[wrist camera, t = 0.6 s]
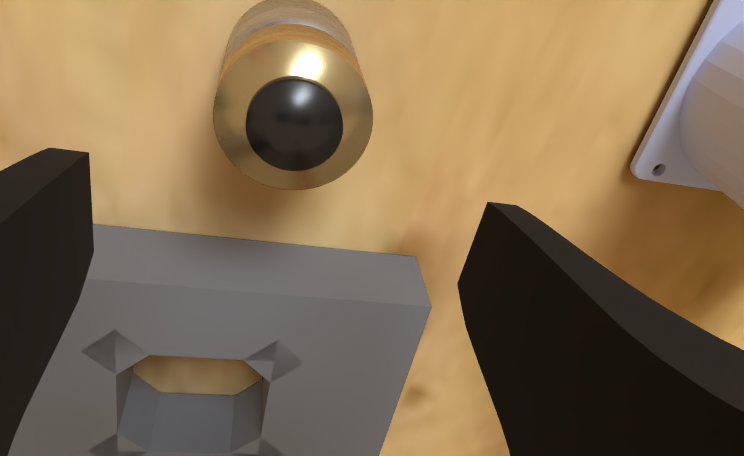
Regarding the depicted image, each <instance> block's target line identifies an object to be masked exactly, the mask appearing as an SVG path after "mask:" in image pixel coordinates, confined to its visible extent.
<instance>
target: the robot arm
mask: <svg viewBox="0 0 744 456" xmlns="http://www.w3.org/2000/svg"><path fill="white" fill-rule="evenodd" d="M659 164H660V166H659V168H658V169H657V170H655V171H653V169H654V167H655V166H657V165H659ZM630 171H631V172H632V173H633V175H634V176H635V177H636V178H638V179H641V180H648V181H655V182H662V183H668V184H675V185H682V186H689V187H696V188H703V189H710V190H717V191H722V192H723V193H724V194H725V195H727V196H728V197H729V198H730V199H731V200H733V201H734V202H735V203H736V204H737V205H739V206H740V207H741V208H742V209H744V0H714V1H713V3H712V5H711V7H710V9H709V11H708V13H707V15H706V17H705V19H704V20H703V22H702V24H701V26H700V28H699V30H698V32H697V34H696V36H695V38H694V40H693V42H692V44H691V46H690V48H689V50H688V52H687V54H686V56H685V58H684V60H683V62H682V64H681V66H680V68H679V70H678V72H677V74H676V76H675V78H674V80H673V82H672V83H671V85H670V87H669V89H668V91H667V93H666V95H665V97H664V99H663V101H662V103H661V105H660V107H659V109H658V111H657V113H656V115H655V117H654V119H653V121H652V123H651V125H650V127H649V129H648V131H647V133H646V135H645V137H644V139H643V141H642V143H641V144H640V146H639V148H638V150H637V152H636V154H635V156H634V158H633V160H632V162H631V165H630ZM93 253H94V240H93V221H92V202H91V183H90V164H89V153H88V152H80V151H72V150H64V149H56V148H47V149H45V150H42V151H40V152H38V153H36V154H33V155H31V156H29V157H27V158H25V159H23V160H21V161H19V162H17V163H15V164H13V165H11V166H9V167H7V168H5V169H4V170H2V171H0V456H8V453H9V450H10V448H11V445H12V442H13V439H14V436H15V434H16V431H17V429H18V427H19V424H20V422H21V420H22V417H23V415H24V413H25V410H26V408H27V406H28V404H29V402H30V400H31V398H32V396H33V394H34V392H35V390H36V388H37V386H38V384H39V382H40V379H41V377H42V375H43V373H44V371H45V369H46V367H47V365H48V363H49V361H50V359H51V357H52V355H53V353H54V351H55V349H56V347H57V345H58V343H59V341H60V339H61V336H62V334H63V332H64V330H65V328H66V326H67V324H68V322H69V320H70V318H71V316H72V313H73V311H74V309H75V307H76V305H77V303H78V301H79V298H80V295H81V292H82V289H83V286H84V283H85V280H86V277H87V273H88V270H89V267H90V263H91V260H92V257H93ZM457 284H458V290H459V295H460V301H461V306H462V311H463V316H464V320H465V325H466V329H467V332H468V334H469V337H470V340H471V343H472V346H473V349H474V352H475V354H476V357H477V360H478V363H479V366H480V368H481V371H482V374H483V376H484V379H485V382H486V385H487V387H488V390H489V393H490V395H491V398H492V401H493V404H494V406H495V409H496V412H497V415H498V417H499V420H500V423H501V426H502V429H503V432H504V435H505V438H506V442H507V445H508V448H509V452H510V456H744V350H742V349H740V348H738V347H736V346H734V345H732V344H730V343H728V342H726V341H724V340H722V339H720V338H718V337H716V336H714V335H712V334H711V333H709V332H707V331H705V330H703V329H701V328H700V327H698V326H696V325H694V324H693V323H691V322H689V321H687V320H686V319H684V318H682V317H680V316H679V315H677V314H675V313H674V312H672V311H670V310H668V309H667V308H665V307H663V306H662V305H660V304H659V303H657V302H655V301H654V300H652V299H651V298H649V297H647V296H646V295H644V294H643V293H641V292H640V291H638V290H637V289H635V288H634V287H632V286H631V285H630V284H628V283H627V282H625V281H624V280H622V279H621V278H619V277H618V276H616V275H615V274H613V273H612V272H611V271H609V270H608V269H606V268H605V267H603V266H602V265H601V264H599V263H598V262H597V261H595V260H594V259H592V258H591V257H590V256H588V255H587V254H586V253H584V252H583V251H582V250H580V249H579V248H578V247H576V246H575V245H574V244H572V243H571V242H569V241H568V240H567V239H565V238H564V237H563V236H561V235H560V234H559V233H557V232H556V231H555V230H553V229H552V228H551V227H549V226H548V225H546V224H545V223H544V222H542V221H541V220H539V219H538V218H536V217H535V216H533V215H532V214H530V213H529V212H527V211H526V210H524V209H522V208H520V207H519V206H517V205H509V204H501V203H493V202H487V205H486V208H485V210H484V213H483V216H482V219H481V221H480V224H479V227H478V229H477V232H476V235H475V237H474V240H473V243H472V246H471V248H470V251H469V254H468V256H467V259H466V262H465V264H464V267H463V270H462V273H461V275H460V278H459V281H458V283H457Z"/></svg>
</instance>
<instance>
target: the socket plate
mask: <svg viewBox="0 0 744 456" xmlns="http://www.w3.org/2000/svg"><path fill="white" fill-rule="evenodd" d="M93 240H94V253H93V257H92V260H91V263H90V267H89V270H88V273H87V277H86V280H85V283H84V286H83V289H82V292H81V295H80V298H79V301H78V303H77V305H76V307H75V309H74V311H73V313H72V316H71V318H70V320H69V322H68V324H67V326H66V328H65V330H64V332H63V334H62V336H61V339H60V341H59V343H58V345H57V347H56V349H55V351H54V353H53V355H52V357H51V359H50V361H49V363H48V365H47V367H46V369H45V371H44V373H43V375H42V377H41V379H40V382H39V384H38V386H37V388H36V390H35V392H34V394H33V396H32V398H31V400H30V402H29V404H28V406H27V408H26V410H25V413H24V415H23V417H22V420H21V422H20V424H19V427H18V429H17V431H16V434H15V436H14V439H13V442H12V445H11V448H10V450H9V453H8V456H379V454H380V451H381V448H382V445H383V442H384V440H385V437H386V434H387V431H388V428H389V426H390V423H391V420H392V417H393V414H394V412H395V409H396V406H397V403H398V400H399V398H400V395H401V392H402V389H403V386H404V383H405V381H406V378H407V375H408V372H409V369H410V367H411V364H412V361H413V358H414V355H415V353H416V350H417V347H418V344H419V341H420V339H421V336H422V333H423V330H424V327H425V325H426V322H427V319H428V316H429V313H430V311H431V308H432V306H431V302H430V299H429V296H428V293H427V290H426V287H425V283H424V280H423V277H422V274H421V271H420V268H419V265H418V261H417V258H416V257H413V256H403V255H393V254H383V253H373V252H363V251H353V250H343V249H334V248H324V247H314V246H304V245H294V244H284V243H274V242H264V241H254V240H244V239H234V238H225V237H215V236H205V235H195V234H185V233H175V232H165V231H155V230H145V229H135V228H126V227H116V226H106V225H96V224H93ZM149 355H159V356H177V357H196V358H214V359H232V360H243V361H245V362H246V363H247V364H248V365H249V366H251V367H252V368H253V369H254V370H255V371H257V372H258V373H259V374H260V375H262V376H263V380H262V381H260V382H258V383H256V384H255V385H253V386H251V387H249V388H248V389H246V390H244V391H242V392H240V393H239V394H237V395H235V396H226V395H202V394H178V393H160V392H158V391H157V390H155V389H154V388H153V387H151V386H150V385H148V384H147V383H145V382H144V381H143V380H141V379H140V378H138V377H137V376H135V375H134V374H133V365H134V364H135V363H137V362H139V361H140V360H142V359H144V358H145V357H147V356H149Z"/></svg>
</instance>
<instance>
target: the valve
mask: <svg viewBox="0 0 744 456" xmlns="http://www.w3.org/2000/svg"><path fill="white" fill-rule="evenodd" d="M213 122H214V129H215V132H216V136H217V139H218V141H219V144H220V146H221V148H222V150H223V151H224V153H225V154H226V156H227V157H228V159H229V160H230V161H231V162H232V163H233V164H234V165H235V166H236V167H237V168H238V169H239V170H240V171H241V172H243V173H244V174H245V175H247V176H248V177H250V178H252V179H253V180H255V181H257V182H259V183H262V184H264V185H267V186H270V187H274V188H279V189H285V190H304V189H310V188H315V187H319V186H322V185H325V184H327V183H329V182H332V181H333V180H335V179H337V178H339V177H340V176H342V175H343V174H344V173H346V172H347V171H348V170H349V169H350V168H351V167H352V166H354V164H355V163H356V162H357V161H358V160H359V158H360V157H361V155H362V154H363V152H364V151H365V148H366V146H367V144H368V142H369V139H370V135H371V131H372V125H373V110H372V104H371V100H370V96H369V93H368V90H367V87H366V84H365V81H364V78H363V75H362V72H361V69H360V66H359V63H358V60H357V57H356V54H355V51H354V48H353V45H352V42H351V39H350V36H349V34H348V32H347V30H346V28H345V27H344V25H343V24H342V22H341V21H340V20H339V19H338V18H337V17H336V16H335V15H334V14H333V13H332V12H331V11H330V10H329V9H327V8H326V7H324V6H323V5H321V4H319V3H317V2H315V1H313V0H265V1H262V2H260V3H258V4H257V5H255V6H253V7H252V8H250V9H249V10H248V11H247V12H246V13H245V14H244V15H243V16H242V17H241V18H240V19H239V21H238V22H237V24H236V25H235V27H234V29H233V31H232V33H231V36H230V39H229V42H228V46H227V50H226V55H225V59H224V63H223V67H222V71H221V76H220V80H219V84H218V88H217V92H216V97H215V101H214V108H213Z"/></svg>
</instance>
